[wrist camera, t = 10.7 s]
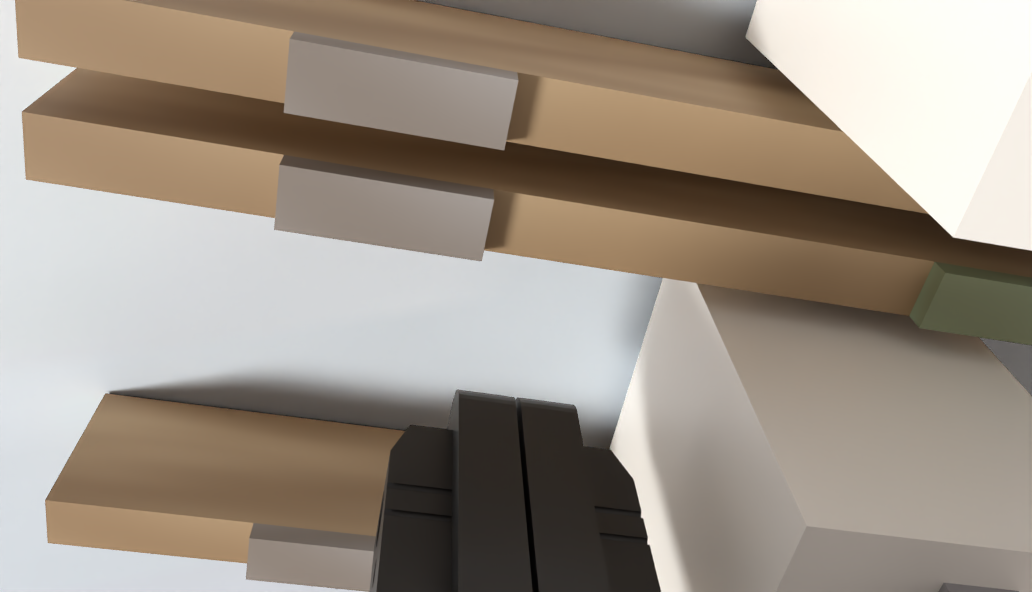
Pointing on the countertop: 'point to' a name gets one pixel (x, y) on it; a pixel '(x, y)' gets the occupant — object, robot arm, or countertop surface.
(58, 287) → the countertop surface
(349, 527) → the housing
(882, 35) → the tab
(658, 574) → the tab
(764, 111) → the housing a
